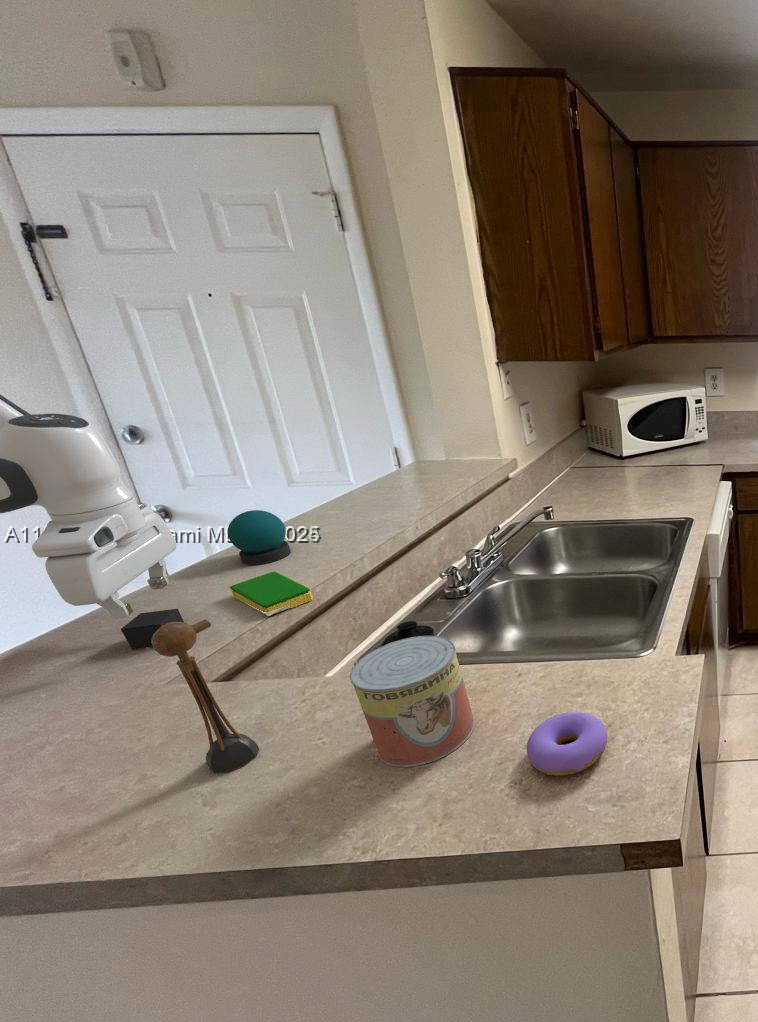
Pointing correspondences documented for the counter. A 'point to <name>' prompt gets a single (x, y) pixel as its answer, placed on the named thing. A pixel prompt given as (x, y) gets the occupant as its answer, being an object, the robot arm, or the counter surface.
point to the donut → (570, 756)
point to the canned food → (414, 700)
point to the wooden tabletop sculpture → (205, 698)
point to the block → (148, 627)
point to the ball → (258, 537)
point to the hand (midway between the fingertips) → (143, 600)
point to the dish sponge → (271, 592)
